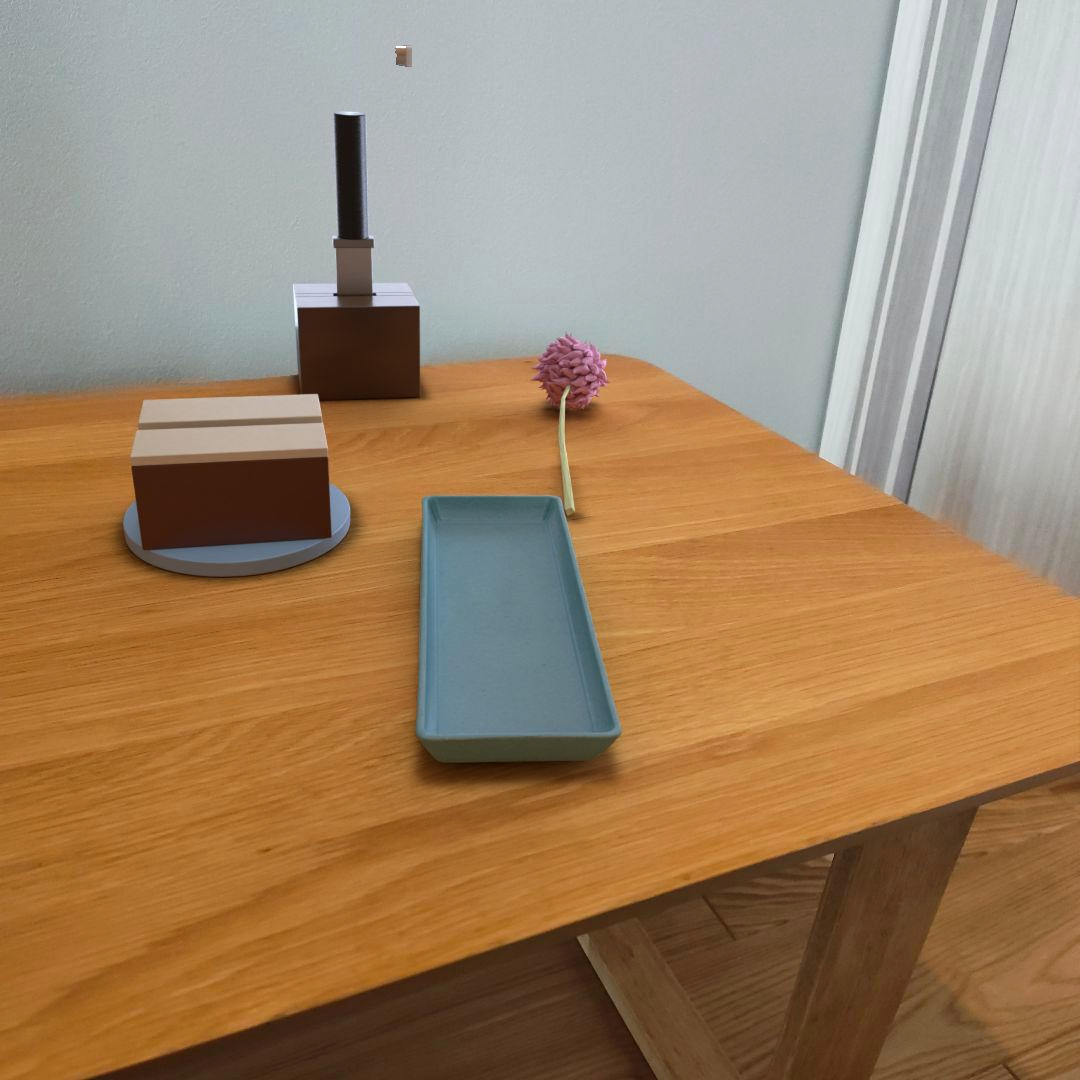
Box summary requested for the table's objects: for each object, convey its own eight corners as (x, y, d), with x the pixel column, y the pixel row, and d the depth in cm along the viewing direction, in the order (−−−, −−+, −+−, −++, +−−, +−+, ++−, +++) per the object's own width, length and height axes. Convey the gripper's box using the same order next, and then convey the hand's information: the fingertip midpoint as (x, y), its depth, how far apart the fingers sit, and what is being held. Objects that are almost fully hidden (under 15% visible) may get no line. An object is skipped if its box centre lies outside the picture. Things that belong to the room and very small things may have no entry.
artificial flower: (631, 551, 74) (609, 385, 94) (624, 466, 70) (602, 312, 90) (536, 561, 74) (534, 393, 94) (523, 477, 70) (524, 321, 90)
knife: (339, 389, 92) (328, 114, 82) (337, 380, 95) (326, 110, 84) (378, 388, 93) (373, 115, 83) (375, 378, 95) (369, 112, 85)
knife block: (302, 401, 89) (297, 307, 86) (297, 371, 96) (292, 283, 92) (420, 397, 92) (420, 305, 88) (407, 368, 98) (407, 282, 95)
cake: (113, 585, 61) (96, 473, 57) (134, 486, 73) (121, 389, 69) (360, 567, 64) (357, 460, 61) (341, 475, 76) (338, 382, 73)
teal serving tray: (421, 522, 70) (421, 487, 69) (558, 523, 71) (561, 489, 70) (414, 783, 47) (414, 738, 46) (619, 780, 48) (624, 735, 46)
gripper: (239, 4, 102) (223, 7, 89) (452, 15, 105) (464, 19, 93) (244, 76, 104) (229, 88, 92) (452, 84, 108) (463, 96, 96)
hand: (349, 53), depth 92 cm, fingers open, 8 cm apart
